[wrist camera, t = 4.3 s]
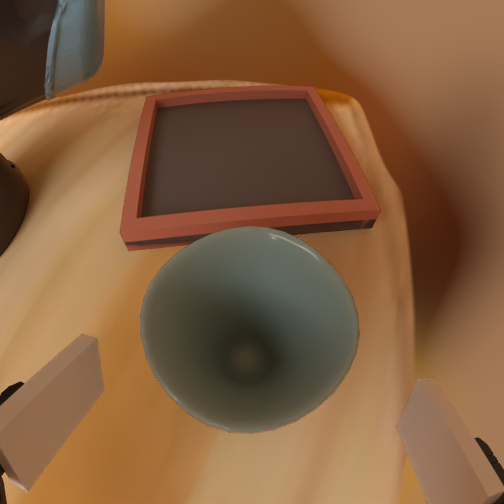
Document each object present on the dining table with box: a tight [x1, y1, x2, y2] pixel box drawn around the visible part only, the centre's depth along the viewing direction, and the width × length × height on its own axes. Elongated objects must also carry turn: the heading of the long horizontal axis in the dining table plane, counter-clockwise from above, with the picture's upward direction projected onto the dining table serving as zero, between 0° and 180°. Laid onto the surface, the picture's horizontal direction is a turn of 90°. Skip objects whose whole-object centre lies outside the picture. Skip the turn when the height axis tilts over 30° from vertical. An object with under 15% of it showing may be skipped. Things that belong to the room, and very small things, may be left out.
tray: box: [120, 86, 381, 251], centre depth 29 cm, size 20×20×2 cm
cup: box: [140, 226, 360, 434], centre depth 15 cm, size 8×8×10 cm
